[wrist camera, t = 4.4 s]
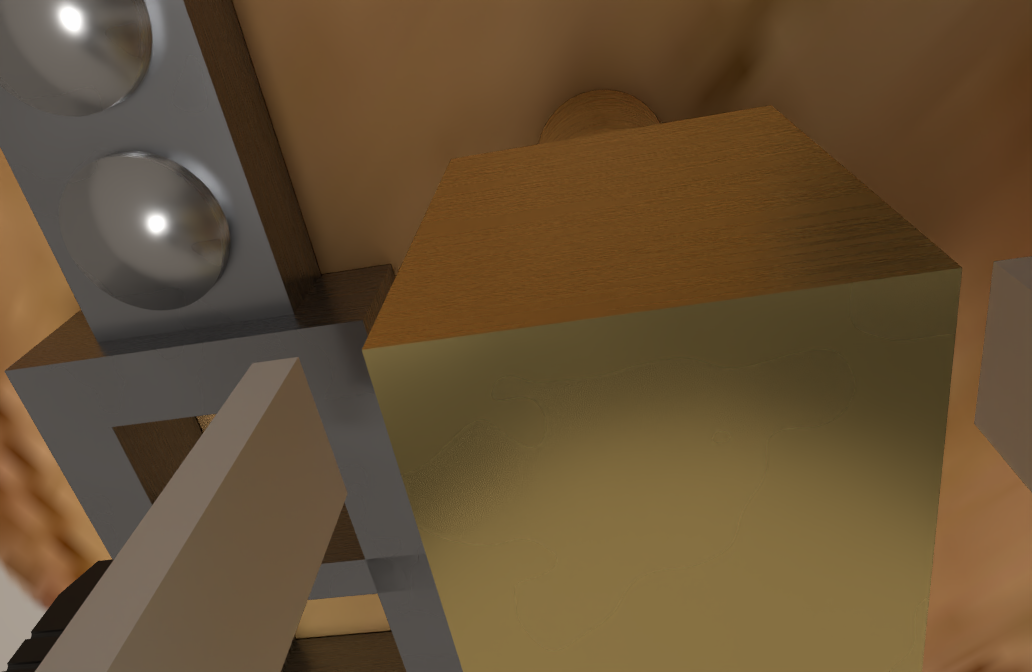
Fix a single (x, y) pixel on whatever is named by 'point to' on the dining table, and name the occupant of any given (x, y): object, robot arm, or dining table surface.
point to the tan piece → (670, 400)
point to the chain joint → (195, 290)
